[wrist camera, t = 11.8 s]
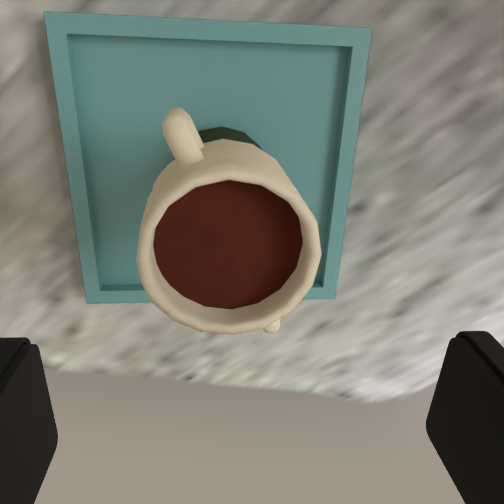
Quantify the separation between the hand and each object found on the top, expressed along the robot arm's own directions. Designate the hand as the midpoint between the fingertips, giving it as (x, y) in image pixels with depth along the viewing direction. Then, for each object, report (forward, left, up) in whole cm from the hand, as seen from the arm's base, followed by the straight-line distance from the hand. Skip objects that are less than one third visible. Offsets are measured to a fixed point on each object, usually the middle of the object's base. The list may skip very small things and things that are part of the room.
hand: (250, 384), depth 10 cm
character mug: (0, 0, -20) cm, 20 cm away
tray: (0, 0, -20) cm, 20 cm away
